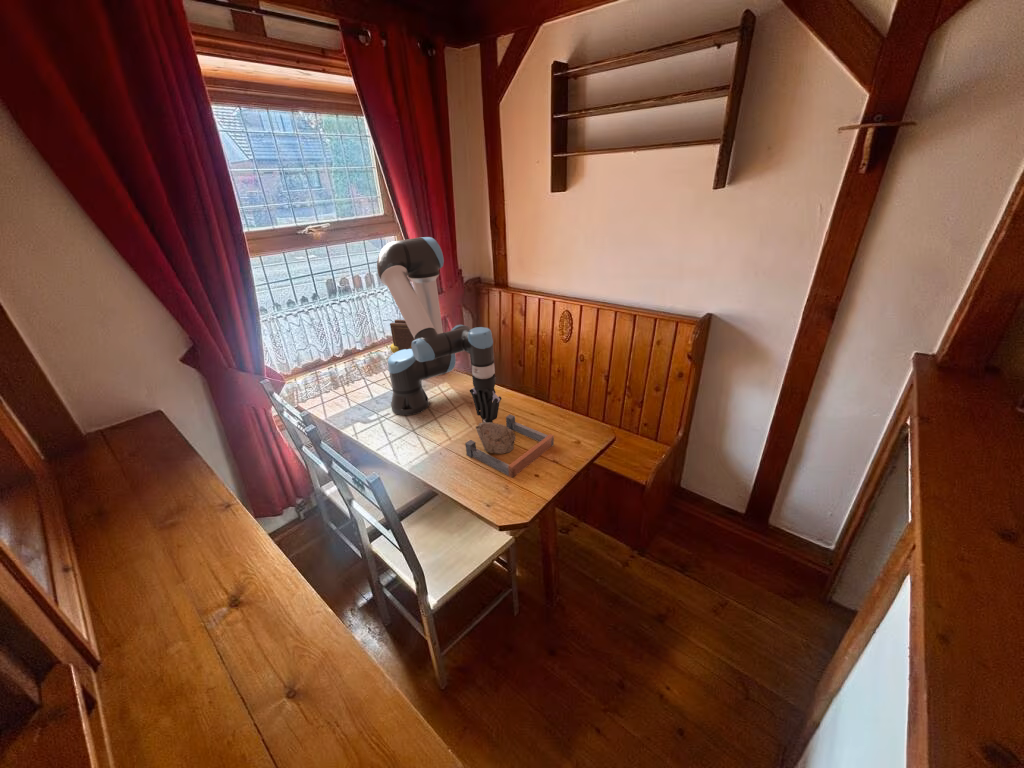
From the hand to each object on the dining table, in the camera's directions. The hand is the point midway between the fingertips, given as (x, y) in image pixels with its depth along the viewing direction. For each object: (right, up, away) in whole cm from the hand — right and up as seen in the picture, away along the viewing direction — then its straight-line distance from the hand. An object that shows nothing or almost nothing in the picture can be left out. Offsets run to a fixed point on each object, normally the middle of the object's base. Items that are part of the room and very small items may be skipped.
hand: (488, 434), depth 150 cm
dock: (+8, -5, -5) cm, 11 cm away
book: (-38, +24, +55) cm, 71 cm away
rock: (+3, -4, -4) cm, 6 cm away
